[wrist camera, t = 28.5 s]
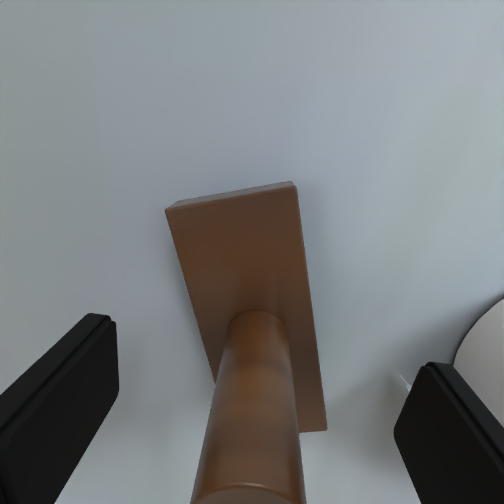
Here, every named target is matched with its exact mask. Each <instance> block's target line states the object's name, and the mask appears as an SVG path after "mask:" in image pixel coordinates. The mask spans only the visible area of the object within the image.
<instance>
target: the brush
mask: <svg viewBox="0 0 504 504" xmlns="http://www.w3.org/2000/svg"><path fill="white" fill-rule="evenodd" d="M165 213H166V217H167V220H168V224H169V227H170V231H171V234H172V237H173V241H174V244H175V248H176V251H177V255H178V258H179V262H180V265H181V268H182V272H183V275H184V279H185V282H186V286H187V289H188V292H189V296H190V299H191V303H192V306H193V310H194V313H195V317H196V320H197V323H198V327H199V330H200V334H201V337H202V341H203V344H204V347H205V351H206V354H207V358H208V361H209V365H210V368H211V372H212V375H213V378H214V382H215V390H214V395H213V399H212V404H211V409H210V413H209V418H208V423H207V427H206V432H205V437H204V441H203V446H202V450H201V455H200V460H199V464H198V469H197V474H196V478H195V483H194V488H193V492H192V497H191V502H190V504H307V503H306V494H305V485H304V475H303V466H302V457H301V448H300V439H299V433H303V432H315V431H326V430H327V429H328V427H327V419H326V411H325V404H324V396H323V388H322V380H321V373H320V365H319V357H318V349H317V342H316V334H315V326H314V319H313V311H312V303H311V295H310V288H309V280H308V272H307V264H306V257H305V249H304V241H303V233H302V226H301V218H300V210H299V203H298V195H297V188H296V186H295V185H294V183H293V182H292V181H287V182H282V183H276V184H270V185H265V186H259V187H254V188H248V189H243V190H237V191H232V192H226V193H221V194H215V195H209V196H204V197H198V198H193V199H187V200H182V201H178V202H176V203H174V204H173V205H171V206H170V207H168V208H166V209H165Z"/></svg>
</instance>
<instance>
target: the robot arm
mask: <svg viewBox="0 0 504 504" xmlns="http://www.w3.org/2000/svg"><path fill="white" fill-rule="evenodd" d="M118 392H119V372H118V353H117V333H116V323H115V322H114V321H111V318H110V316H108V315H101V314H94V313H88V314H87V315H85V316H84V317H83V318H82V319H81V320H80V321H79V322H78V323H77V324H76V325H75V326H74V327H73V328H72V329H71V330H70V331H69V332H67V333H66V334H65V335H64V336H63V337H62V338H61V339H60V340H59V341H58V342H57V343H56V344H55V345H54V346H53V347H52V348H51V349H49V350H48V351H47V352H46V353H45V354H44V355H43V356H42V357H41V358H40V359H38V360H37V361H36V362H35V363H34V364H33V365H32V366H31V367H30V368H29V369H28V370H27V371H25V372H24V373H23V374H22V375H21V376H20V377H19V378H18V379H17V380H16V381H15V382H14V383H13V384H12V385H11V386H10V387H8V388H7V389H6V390H5V391H4V392H3V393H2V394H1V395H0V504H54V503H55V501H56V500H57V498H58V496H59V495H60V493H61V491H62V490H63V488H64V486H65V485H66V483H67V481H68V480H69V478H70V476H71V474H72V473H73V471H74V469H75V468H76V466H77V464H78V463H79V461H80V459H81V458H82V456H83V454H84V453H85V451H86V449H87V448H88V446H89V444H90V443H91V441H92V439H93V437H94V436H95V434H96V432H97V431H98V429H99V427H100V426H101V424H102V422H103V421H104V419H105V417H106V416H107V414H108V412H109V411H110V409H111V407H112V406H113V404H114V402H115V400H116V398H117V396H118ZM394 439H395V442H396V444H397V447H398V449H399V452H400V454H401V456H402V459H403V461H404V463H405V466H406V468H407V471H408V473H409V475H410V478H411V480H412V483H413V485H414V487H415V490H416V492H417V494H418V497H419V499H420V502H421V504H504V427H503V426H502V425H501V424H500V423H499V421H498V420H497V419H496V418H495V416H494V415H493V414H492V413H491V412H490V410H489V409H488V408H487V407H486V406H485V404H484V403H483V402H482V401H481V399H480V398H479V397H478V396H477V395H476V393H475V392H474V391H473V390H472V388H471V387H470V386H469V385H468V384H467V382H466V381H465V380H464V379H463V377H462V376H461V375H460V374H459V373H458V371H457V370H456V369H455V368H454V367H453V366H452V365H449V364H443V363H436V362H428V363H427V364H426V365H425V366H422V367H421V368H420V369H419V372H418V374H417V376H416V379H415V381H414V383H413V385H412V388H411V390H410V392H409V395H408V397H407V399H406V401H405V404H404V406H403V408H402V411H401V413H400V415H399V417H398V420H397V422H396V424H395V427H394Z"/></svg>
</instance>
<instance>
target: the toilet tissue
mask: <svg viewBox="0 0 504 504" xmlns="http://www.w3.org/2000/svg"><path fill="white" fill-rule="evenodd" d="M453 367H454V368H455V369H456V370H457V371H458V373H459V374H460V375H461V376H462V377H463V379H464V380H465V381H466V382H467V384H468V385H469V386H470V387H471V388H472V390H473V391H474V392H475V393H476V395H477V396H478V397H479V398H480V399H481V401H482V402H483V403H484V404H485V406H486V407H487V408H488V409H489V410H490V412H491V413H492V414H493V415H494V416H495V418H496V419H497V420H498V421H499V423H500V424H501V425H502V426H503V427H504V299H502V300H501V301H499V302H498V303H497V304H495V305H494V306H493V307H492V308H491V309H490V310H489V311H488V312H486V313H485V314H484V315H483V316H482V317H481V318H480V319H479V320H478V321H477V322H476V324H475V325H474V326H473V327H472V329H471V330H470V331H469V332H468V334H467V335H466V337H465V338H464V340H463V342H462V344H461V346H460V348H459V349H458V351H457V354H456V358H455V361H454V365H453ZM398 373H399V372H398ZM399 376H400V377H401V379H402V380H403V381H404V383H405V385H406V386H407V389H408V391H409V392H410V390H411V388H412V386H411V385H410V384H409V383H408V382H406V381H405V380H404V379H403V378H402V376H401V375H400V374H399Z"/></svg>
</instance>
